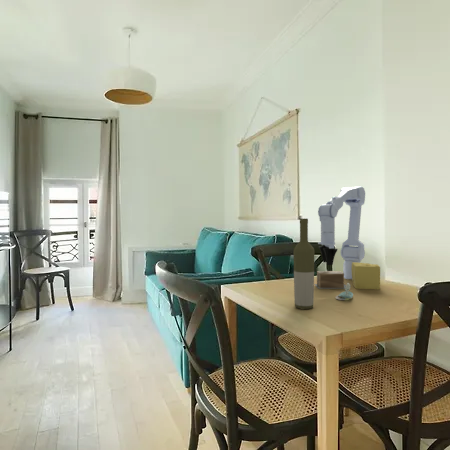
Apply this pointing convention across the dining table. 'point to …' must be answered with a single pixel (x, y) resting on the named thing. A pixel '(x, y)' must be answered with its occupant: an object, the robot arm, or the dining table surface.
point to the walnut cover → (330, 279)
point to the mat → (330, 288)
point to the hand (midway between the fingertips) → (327, 263)
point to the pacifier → (345, 294)
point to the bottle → (304, 269)
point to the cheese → (365, 275)
